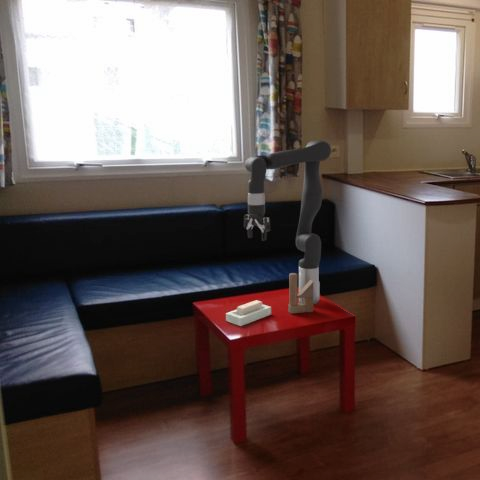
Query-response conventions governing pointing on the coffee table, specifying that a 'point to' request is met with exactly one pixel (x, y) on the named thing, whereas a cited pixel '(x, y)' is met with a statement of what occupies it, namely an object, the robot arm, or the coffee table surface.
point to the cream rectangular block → (249, 307)
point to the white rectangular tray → (248, 316)
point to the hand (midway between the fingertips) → (257, 239)
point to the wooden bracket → (300, 296)
